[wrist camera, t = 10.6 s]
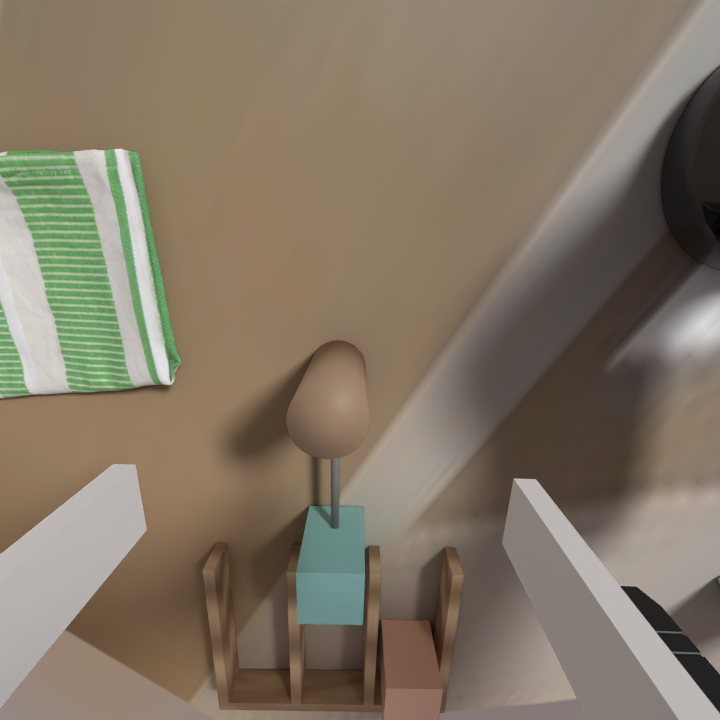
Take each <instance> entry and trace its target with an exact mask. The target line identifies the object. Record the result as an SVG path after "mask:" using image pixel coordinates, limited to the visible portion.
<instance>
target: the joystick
mask: <svg viewBox="0 0 720 720" xmlns="http://www.w3.org/2000/svg"><path fill="white" fill-rule="evenodd" d="M286 425H287V430H288V433H289V435H290V437H291V439H292V441H293V442H294V443H295V444H296V445H297V446H298V447H299V448H300V449H301V450H302V451H304V452H305V453H307V454H309V455H311V456H314V457H317V458H322V459H331V506H309V511H308V516H307V521H306V526H305V531H304V535H303V540H302V545H301V550H300V555H299V560H298V565H297V570H296V588H297V624H326V625H363V609H364V586H365V550H364V507H339V487H340V457H343V456H346V455H348V454H350V453H352V452H353V451H355V450H356V449H357V448H358V447H359V446H360V445H361V444H362V442H363V441H364V439H365V438H366V435H367V433H368V429H369V412H368V397H367V383H366V369H365V361H364V357H363V355H362V354H361V352H360V351H359V350H358V349H357V348H356V347H355V346H354V345H352V344H350V343H348V342H345V341H331V342H328V343H325V344H324V345H322V346H321V347H320V348H319V349H318V350H317V351H316V352H315V354H314V356H313V358H312V360H311V362H310V364H309V366H308V368H307V370H306V372H305V374H304V377H303V379H302V381H301V383H300V385H299V387H298V389H297V391H296V393H295V395H294V397H293V399H292V401H291V404H290V406H289V408H288V411H287V416H286Z"/></svg>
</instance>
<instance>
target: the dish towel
mask: <svg viewBox="0 0 720 720" xmlns="http://www.w3.org/2000/svg"><path fill="white" fill-rule="evenodd" d="M180 364H181V359H180V357H179V354H178V352H177V349H176V346H175V340H174V336H173V331H172V326H171V320H170V316H169V310H168V304H167V299H166V294H165V288H164V282H163V277H162V272H161V268H160V263H159V258H158V254H157V249H156V244H155V239H154V234H153V230H152V224H151V219H150V214H149V209H148V203H147V198H146V192H145V186H144V180H143V174H142V168H141V163H140V157H139V154H138V153H137V152H131V151H126V150H123V149H112V150H84V151H70V152H57V151H42V150H30V151H8V152H2V153H0V398H10V397H19V396H27V395H35V394H57V393H71V392H76V393H86V392H88V393H93V392H98V391H118V390H125V389H134V388H137V387H140V386H146V385H171V384H173V382H174V379H175V372H176V370H177V369H178V367H179V366H180Z"/></svg>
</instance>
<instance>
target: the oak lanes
mask: <svg viewBox="0 0 720 720" xmlns="http://www.w3.org/2000/svg"><path fill="white" fill-rule="evenodd" d="M300 550H301V545H293V546H292V550H291V554H290V558H289V563H288V567H287V571H286V575H287V601H288V628H289V654H290V670H277V669H239V666H238V655H237V645H236V635H235V624H234V614H233V604H232V593H231V583H230V573H229V562H228V552H227V543H216V544H215V546H214V548H213V550H212V552H211V554H210V556H209V558H208V560H207V562H206V564H205V566H204V568H203V570H202V571H203V579H204V588H205V596H206V604H207V612H208V620H209V628H210V636H211V644H212V652H213V660H214V668H215V676H216V684H217V692H218V700H219V708H220V710H285V711H358V712H382V697H381V679H380V671H376V654H377V637H378V621H379V604H380V587H381V563H380V549H379V546H369V556H368V577H367V599H366V621H365V643H364V665H363V671H342V670H306V662H305V624H297V588H296V570H297V565H298V560H299V555H300ZM463 580H464V573H463V570H462V567H461V564H460V561H459V558H458V556H457V553H456V550H455V548H444V556H443V565H442V573H441V581H440V589H439V597H438V606H437V614H436V622H435V630H434V638H433V642H434V647H435V652H436V657H437V662H438V667H439V672H440V677H441V682H442V687H443V693H442V700H441V707H440V713H444V710H445V704H446V697H447V690H448V683H449V676H450V669H451V662H452V656H453V649H454V642H455V635H456V628H457V621H458V614H459V607H460V601H461V594H462V587H463Z"/></svg>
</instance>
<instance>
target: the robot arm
mask: <svg viewBox="0 0 720 720" xmlns="http://www.w3.org/2000/svg"><path fill="white" fill-rule="evenodd" d="M662 198H663V206H664V211H665V215H666V218H667V222H668V224H669V227H670V229H671V231H672V233H673V235H674V237H675V238H676V240H677V241H678V242H679V244H680V245H681V246H682V247H683V248H684V250H685V251H686V252H688V253H689V254H690V255H691V256H692V257H694V258H695V259H697V260H698V261H700V262H702V263H703V264H706V265H708V266H710V267H713V268H716V269H720V67H719V68H718V69H717V70H716V71H715V72H714V73H713V74H712V75H711V76H710V77H709V78H708V79H707V80H706V81H705V83H704V84H703V85H702V86H701V87H700V89H699V90H698V91H697V93H696V94H695V95H694V97H693V98H692V100H691V101H690V103H689V104H688V106H687V107H686V109H685V111H684V113H683V114H682V116H681V118H680V120H679V122H678V124H677V126H676V128H675V131H674V133H673V136H672V138H671V141H670V144H669V147H668V151H667V154H666V158H665V163H664V169H663V178H662ZM146 530H147V528H146V523H145V517H144V511H143V506H142V500H141V494H140V488H139V483H138V477H137V471H136V466H135V465H128V464H113V465H112V466H110V467H109V468H108V469H107V470H105V471H104V472H103V473H102V474H100V475H99V476H98V477H96V478H95V479H94V480H93V481H91V482H90V483H89V484H88V485H86V486H85V487H84V488H83V489H81V490H80V491H79V492H78V493H76V494H75V495H74V496H73V497H71V498H70V499H69V500H68V501H66V502H65V503H64V504H63V505H61V506H60V507H59V508H58V509H56V510H55V511H54V512H53V513H51V514H50V515H49V516H48V517H46V518H45V519H44V520H43V521H41V522H40V523H39V524H38V525H36V526H35V527H34V528H33V529H31V530H30V531H29V532H27V533H26V534H25V535H24V536H22V537H21V538H20V539H19V540H17V541H16V542H15V543H14V544H12V545H11V546H10V547H9V548H7V549H6V550H5V551H4V552H2V553H1V554H0V708H1V707H2V706H3V704H4V703H5V702H6V701H7V699H8V698H9V697H10V696H11V695H12V693H13V692H14V691H15V690H16V688H17V687H18V686H19V685H20V684H21V682H22V681H23V680H24V679H25V678H26V676H27V675H28V674H29V673H30V671H31V670H32V669H33V668H34V667H35V665H36V664H37V663H38V662H39V661H40V659H41V658H42V657H43V656H44V654H45V653H46V652H47V651H48V650H49V648H50V647H51V646H52V645H53V644H54V642H55V641H56V640H57V638H58V637H59V636H60V635H61V634H62V633H63V631H64V630H65V629H66V628H67V626H68V625H69V624H70V623H71V622H72V620H73V619H74V618H75V617H76V615H77V614H78V613H79V612H80V611H81V609H82V608H83V607H84V606H85V605H86V603H87V602H88V601H89V600H90V598H91V597H92V596H93V595H94V594H95V592H96V591H97V590H98V589H99V587H100V586H101V585H102V584H103V583H104V581H105V580H106V579H107V578H108V576H109V575H110V574H111V573H112V572H113V570H114V569H115V568H116V567H117V566H118V564H119V563H120V562H121V561H122V559H123V558H124V557H125V556H126V555H127V553H128V552H129V551H130V550H131V548H132V547H133V546H134V545H135V544H136V542H137V541H138V540H139V539H140V537H141V536H142V535H143V534H144V533H145V531H146ZM502 544H503V546H504V548H505V551H506V553H507V555H508V557H509V559H510V561H511V563H512V565H513V567H514V569H515V571H516V573H517V575H518V577H519V579H520V581H521V584H522V586H523V588H524V590H525V592H526V594H527V596H528V598H529V600H530V602H531V604H532V606H533V608H534V610H535V612H536V614H537V617H538V619H539V621H540V623H541V625H542V627H543V629H544V631H545V633H546V635H547V637H548V639H549V641H550V643H551V645H552V647H553V650H554V652H555V654H556V656H557V658H558V660H559V662H560V664H561V666H562V668H563V670H564V672H565V674H566V676H567V678H568V680H569V683H570V685H571V687H572V689H573V691H574V693H575V695H576V697H577V699H578V701H579V703H580V705H581V707H582V709H583V711H584V713H585V716H586V718H587V720H720V674H719V673H718V672H717V671H716V670H715V669H714V667H713V666H712V665H711V664H710V663H709V662H708V660H707V659H706V658H705V657H702V656H701V655H700V651H699V650H698V649H697V648H696V646H695V645H694V644H693V643H692V642H691V641H690V639H689V638H688V637H687V636H684V635H683V633H682V630H681V629H680V628H679V627H678V625H677V624H676V623H675V622H674V621H673V620H672V618H671V617H670V616H669V615H668V614H667V613H666V611H665V610H664V609H663V608H662V607H661V606H660V605H659V604H657V603H656V602H655V601H654V600H652V599H651V598H650V597H649V596H647V595H646V594H645V593H644V592H642V591H641V590H640V589H639V588H637V587H629V586H619V584H618V583H617V582H616V581H615V579H614V578H613V577H612V576H611V574H610V573H609V572H608V570H607V569H606V568H605V567H604V565H603V564H602V563H601V562H600V560H599V559H598V558H597V556H596V555H595V554H594V553H593V551H592V550H591V549H590V547H589V546H588V545H587V544H586V542H585V541H584V540H583V539H582V537H581V536H580V535H579V533H578V532H577V531H576V530H575V528H574V527H573V526H572V525H571V523H570V522H569V521H568V519H567V518H566V517H565V516H564V514H563V513H562V512H561V511H560V509H559V508H558V507H557V505H556V504H555V503H554V502H553V500H552V499H551V498H550V497H549V495H548V494H547V493H546V491H545V490H544V489H543V488H542V486H541V485H540V484H539V483H538V481H537V480H536V479H516V478H514V479H513V485H512V490H511V496H510V501H509V507H508V513H507V518H506V524H505V529H504V535H503V540H502Z"/></svg>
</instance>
